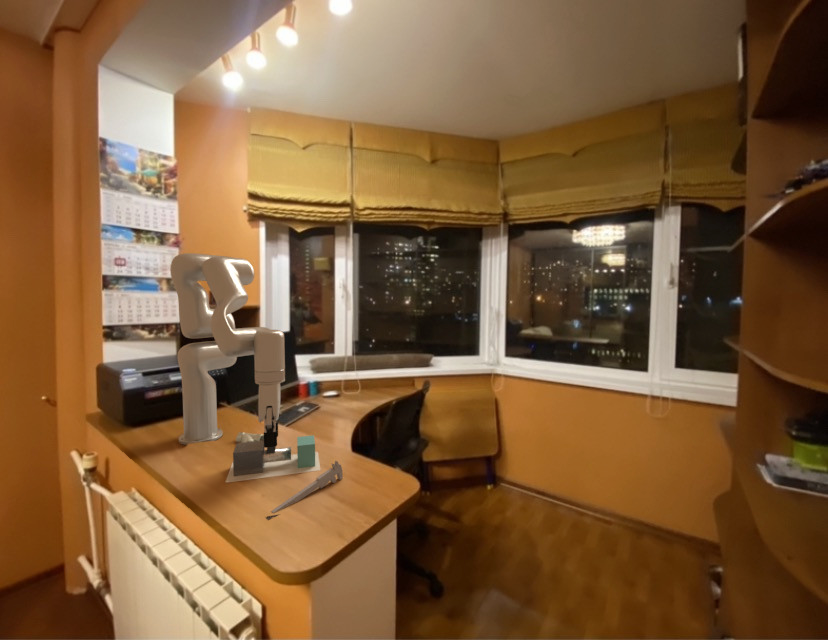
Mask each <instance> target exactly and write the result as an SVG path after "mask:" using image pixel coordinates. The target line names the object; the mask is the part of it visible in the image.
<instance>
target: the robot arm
mask: <svg viewBox="0 0 828 640" xmlns="http://www.w3.org/2000/svg"><path fill="white" fill-rule="evenodd" d="M169 271H170V277H171V281H172V284H173V286H174V289H175V292H176V294H177V299H178V302H177V303H178V312H179V313H178V314H179V324H180V325H179V326H180V330H181V333H182V335H183V337H185V338H188V339H204V338H205V339H206V338H214V340H212V341H208V340H207V341H201V342H200V341H199V342H192V343H187V344H185V345H183V346H182V347H180V349H179V350H178V352H177V355H176V356H177V363H178V366H179V372H180V376H181V377H180V379H181V386H182V387H181V389H182V391H181V393H182V414H183V415H182V417H183V433H182V434H180V436H179V437H178V443H180V444H181V445H186V446H188V444H195V443H197V444H198V443H204V442H214V441H217V440H219V439H220V438H221V437H223V433H224V432H223V430H222V429H221V428H218V414H217V413H218V411H217V410H218V409H217V408H218V407H217V385H216V384H217V383H216V381H215V379H214V378H213V377H212V376H211V375H210V374H209V373H208V372H209V371H214V370H220V369H224V368H230V367H232V366H233V365H235V364H236V362H237V359H238V357H245V356H253V358H254V383H255V384H256V385H258V422H259V423H262V422H263V423H264V430H263V431H264V432H263V435H264V447H265V448H266V449H267V447H275V446H276V447H277V445H278V437H279V422H278V420H279V415H280V409H281V384H282V383H284V382H285V381H286V361H285V360H286V359H285V358H286V355H285V353H286V352H285V351H286V350H285V349H286V348H285V333H284V332H283V331H282V330H280V329H270V328H269V327H266V326H256V327H255V326H254V327H242V328H240V327H239V328H236V324H235V319H234V318H235V317H234V316H233V314H232V313H234V312H236V311H238V310H240V309H242V308H243V307H244V306H245V305H246V304H247V303H248V300H249V294H248V292H247V290H246V289H245V287H244V286H248V285H250V284H252V283H253V281H254V279H255V269H254V267H253V265H252V264H251V262H250V261H249V260H247V259H246V258H243V257H242V258H241V257H234V256H233V257H232V256H225V255H214V254H205V253H193V252H189V253H187V252H186V253H179V254H177V255H176V256H174V257H173V258H172V260H171V263H170V270H169ZM201 281H202V282H206V284H207V285H208V288H209V290H210V292H211V294H212V296H213V299H214V301H215V303H216V306H215V307H214V308H211V307H210V300H209V299H210V297H209V294H208V292H207V290H206V289H205V287H203V286H202V285H201V284H200V282H201Z"/></svg>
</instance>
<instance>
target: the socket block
mask: <svg viewBox="0 0 828 640" xmlns="http://www.w3.org/2000/svg"><path fill="white" fill-rule="evenodd" d="M296 440H297V441H296V442H297V443H296V444H297V445H296V446H297V447H296V448H297V453H296V454H297V455H298V468H304V467H312V466H315V452H316V440H315V435H313V434H311V435H305V436H297V437H296Z"/></svg>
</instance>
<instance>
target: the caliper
mask: <svg viewBox="0 0 828 640" xmlns="http://www.w3.org/2000/svg"><path fill="white" fill-rule="evenodd" d="M331 466H332V468H331V467H330V468H329V469H327V470H326V471H324V472H323V473H322V474H320V475H319V476H317V477H316V479H315V480H314V481H312V482H311V483H310V484H308V485H306V486H305V487H304V488H302V489H301V490H300V491H298V492H297V493H295V494H293V496H291V497H289V498H288V499H286V500H285V501H284V502H282V503H281V504H279V505H278V506H276V507H274V508H273V509H272V510H271V511H270V512H271V513H272V514H273V515H267V516H266V517H265V518H266V520H268V521H270V520H271V519H273V518H276V517H278V516H281V514H275V513H277V512H279V511H281V510H283V509H286V508H287V507H290V506H291V505H293V504H295V503H297V502H299V501H301V500H303V499H304V498H305V497H307V496H308V495H310V494H311V493H313V492H314V491H315V490H317V489H318V488H320V489H322V488H324V487H325V486H327V485H328V484H329V482H331V483H333V484H335V483H337V480H339V481H341V480H343V468H342V464H341V463H339V461H338V460H335V461H334V463H331ZM336 476H337V478H336Z"/></svg>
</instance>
